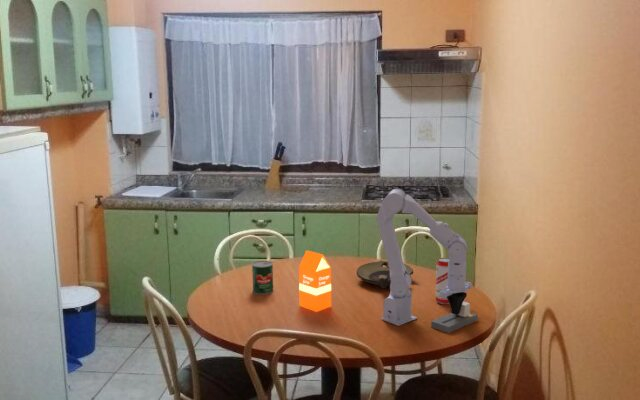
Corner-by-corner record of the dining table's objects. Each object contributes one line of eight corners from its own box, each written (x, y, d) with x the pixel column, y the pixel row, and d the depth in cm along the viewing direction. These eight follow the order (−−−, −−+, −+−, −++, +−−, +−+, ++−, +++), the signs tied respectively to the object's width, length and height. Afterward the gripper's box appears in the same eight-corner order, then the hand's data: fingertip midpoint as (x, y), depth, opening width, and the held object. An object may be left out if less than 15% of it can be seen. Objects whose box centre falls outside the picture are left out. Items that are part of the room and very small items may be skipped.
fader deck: (448, 333, 200) (448, 326, 200) (431, 326, 205) (431, 320, 205) (477, 320, 210) (477, 314, 210) (460, 314, 216) (460, 308, 215)
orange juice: (314, 300, 231) (313, 248, 227) (331, 306, 225) (331, 252, 221) (299, 305, 226) (298, 252, 222) (316, 312, 219) (315, 257, 216)
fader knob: (464, 317, 207) (464, 305, 206) (451, 313, 210) (452, 301, 210) (469, 314, 209) (470, 303, 208) (457, 310, 212) (457, 299, 212)
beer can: (440, 297, 232) (441, 256, 229) (456, 301, 228) (457, 259, 225) (432, 302, 228) (433, 260, 225) (447, 306, 224) (449, 263, 221)
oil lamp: (421, 277, 257) (421, 259, 255) (392, 299, 231) (393, 279, 230) (371, 269, 268) (372, 252, 266) (339, 290, 242) (339, 271, 241)
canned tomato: (260, 296, 236) (260, 268, 234) (248, 291, 242) (247, 263, 240) (277, 291, 241) (276, 263, 239) (265, 286, 247) (264, 259, 245)
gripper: (453, 281, 197) (452, 322, 200) (480, 272, 206) (478, 311, 209) (435, 276, 202) (434, 316, 205) (462, 267, 212) (461, 305, 214)
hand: (455, 313), depth 207 cm, fingers closed
